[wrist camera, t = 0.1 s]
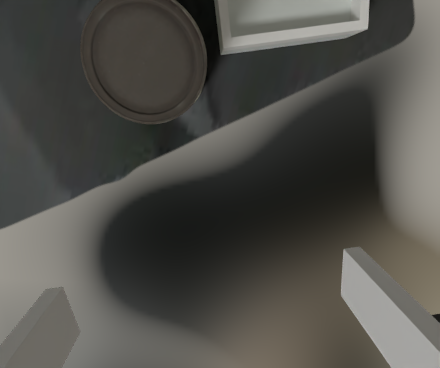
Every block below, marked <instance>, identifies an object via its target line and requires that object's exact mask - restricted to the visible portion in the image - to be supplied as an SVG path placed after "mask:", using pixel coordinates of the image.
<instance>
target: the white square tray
mask: <svg viewBox="0 0 440 368" xmlns="http://www.w3.org/2000/svg"><path fill="white" fill-rule="evenodd" d="M214 3H215V12H216V20H217V29H218V37H219V46H220V55H225V54H232V53H240V52H247V51H254V50H262V49H269V48H277V47H284V46H291V45H299V44H306V43H314V42H321V41H328V40H336V39H343V38H347V37H349V36H352V35H354V34H357V33H359V32H361V31H364V30H366V29H368V17H369V0H214Z"/></svg>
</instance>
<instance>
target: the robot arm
mask: <svg viewBox="0 0 440 368" xmlns="http://www.w3.org/2000/svg"><path fill="white" fill-rule="evenodd" d="M341 296H342V297H343V299H344V300H345V302H346V303H347V305H348V306H349V308H350V309H351V310H352V312H353V313H354V315H355V316H356V318H357V319H358V320H359V322H360V323H361V324H362V326H363V328H364V329H365V330H366V332H367V333H368V335H369V336H370V338H371V339H372V340H373V342H374V343H375V345H376V346H377V347H378V349H379V351H380V352H381V353H382V355H383V356H384V358H385V359H386V361H387V362H388V363H389V365H390V366H391V368H440V314H436V315H431V314H430V313H429V312H427V311H426V310H425V309H424V308H423V307H422V306H421V305H420V304H419V303H418V302H417V301H416V300H415V299H414V298H413V297H412V296H411V295H410V294H409V293H408V292H407V291H405V290H404V289H403V288H402V287H401V286H400V285H399V284H398V283H397V282H396V281H395V280H394V279H393V278H392V277H391V276H390V275H389V274H388V273H387V272H385V270H383V269H382V268H381V267H380V266H379V265H378V264H377V263H376V262H375V261H374V260H373V259H372V258H371V257H370V256H369V255H368V254H367V253H365V251H364V250H362V249H361V248H360V247H354V248H347V249H344V253H343V269H342V285H341ZM79 334H80V329H79V327H78V324H77V321H76V319H75V316H74V314H73V311H72V309H71V306H70V304H69V301H68V299H67V296H66V294H65V291H64V289H63V287H59V288H52V289H46V290H45V291H44V292H43V293H42V295H41V296H40V297H39V298H38V300H37V301H36V302H35V303H34V305H33V306H32V307H31V308H30V309H29V311H28V312H27V313H26V314H25V316H24V317H23V318H22V319H21V321H20V322H19V323H18V325H16V327H15V328H14V329H13V330H12V332H11V333H10V334H9V335H8V336H7V338H6V339H5V340H4V341H3V343H2V344H1V345H0V368H62V366H63V364H64V363H65V360H66V359H67V357H68V355H69V353H70V351H71V349H72V347H73V345H74V343H75V341H76V339H77V337H78V335H79Z"/></svg>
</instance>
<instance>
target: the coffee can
mask: <svg viewBox="0 0 440 368" xmlns="http://www.w3.org/2000/svg"><path fill="white" fill-rule="evenodd" d="M80 49H81V61H82V66H83V70H84V73H85V76H86V78H87V81H88V83H89V85H90V86H91V88H92V90H93V91H94V93H95V94H96V96H97V97H98V98H99V99H100V100H101V101H102V102H103V103H104V104H105V105H106V106H107V107H108V108H109V109H110V110H111V111H113V112H114V113H116V114H117V115H119V116H121V117H123V118H125V119H127V120H130V121H133V122H137V123H143V124H159V123H164V122H167V121H170V120H173V119H175V118H177V117H179V116H180V115H182V114H183V113H184V112H186V111H187V110H188V109H189V108H190V107H191V106H192V105H193V104H194V103H195V101H196V100H197V99H198V97H199V95H200V93H201V91H202V88H203V85H204V82H205V78H206V72H207V53H206V48H205V43H204V40H203V37H202V34H201V32H200V29H199V28H198V26H197V24H196V22H195V21H194V19H193V18H192V16H191V15H190V14H189V13H188V11H187V10H186V9H185V8H184V7H183V6H182V5H181V4H180V3H178V2H177V1H176V0H101V1H100V2H99V3H98V4H97V5H96V6H95V7H94V9H93V10H92V11H91V13H90V14H89V16H88V18H87V20H86V22H85V25H84V27H83V31H82V36H81V45H80Z"/></svg>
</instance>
